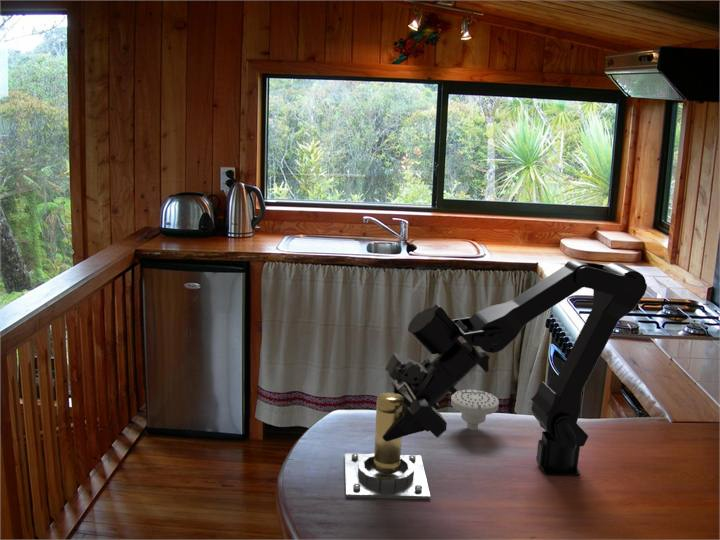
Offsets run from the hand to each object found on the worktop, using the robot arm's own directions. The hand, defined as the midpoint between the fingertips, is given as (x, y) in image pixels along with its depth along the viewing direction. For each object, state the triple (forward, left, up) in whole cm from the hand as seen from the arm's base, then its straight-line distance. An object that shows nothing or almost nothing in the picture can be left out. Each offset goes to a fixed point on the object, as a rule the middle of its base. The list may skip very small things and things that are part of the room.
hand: (381, 432), depth 131 cm
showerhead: (-20, -20, -9) cm, 30 cm away
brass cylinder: (-1, 0, -7) cm, 7 cm away
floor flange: (-1, 0, -8) cm, 9 cm away
